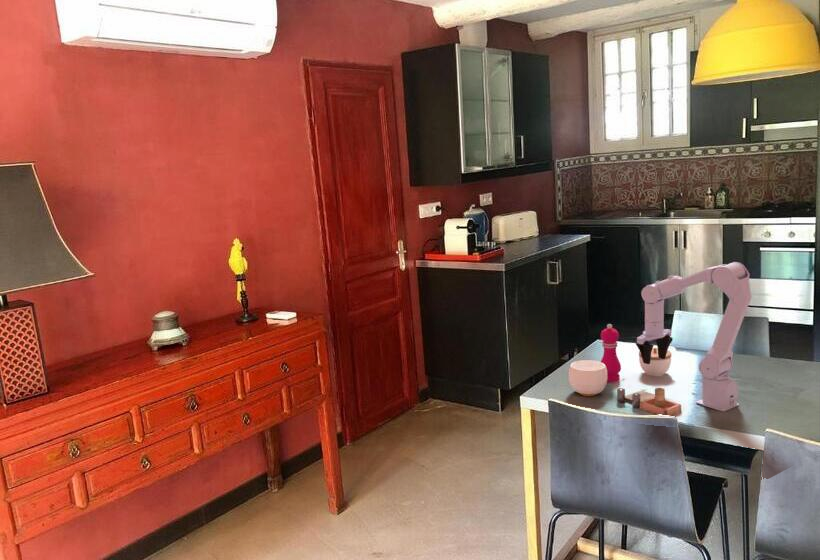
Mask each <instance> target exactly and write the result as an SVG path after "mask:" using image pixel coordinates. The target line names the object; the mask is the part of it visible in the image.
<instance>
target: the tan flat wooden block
mask: <svg viewBox="0 0 820 560" xmlns="http://www.w3.org/2000/svg"><path fill="white" fill-rule="evenodd" d="M633 393H639V394H640V395H641V402H642V401H645V400H647V399H650V398H653V397H655V393H651V392H648V391H645V390H643V389H640V390H638V391H636V392H632V393H630V394H626V395H625V402H626V401H627V402H626V403H629V402H630V403H629V404H632V394H633Z"/></svg>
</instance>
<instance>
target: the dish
mask: <svg viewBox="0 0 820 560" xmlns="http://www.w3.org/2000/svg"><path fill="white" fill-rule="evenodd" d="M639 410H642V411H645V412H647V411H648V412H647V413H650V414H654V415H656V414H662V415H671V416H674V415H676V414H679V413H681V412H682V404H680V403H677V402H674V401H670V400H668V399H665V409H663V408H660V407H657V406H655V397H653V398H650V399H647V400H645V401H642V402H640V408H639Z"/></svg>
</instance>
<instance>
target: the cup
mask: <svg viewBox="0 0 820 560" xmlns="http://www.w3.org/2000/svg"><path fill="white" fill-rule="evenodd" d="M568 381H569V383H570V385H571V388H573V390H574V391H575V392H576V393H579V394H580V395H581V396H584V397H594V396H596V395H598V394H599V393H601V392H603V391H604V389H605V387H606V386H607V385H606V384H607V383H608V382H607V369H606V366H605V364H604V363H602V362H601V361H598V360H594V359H593V360H592V359H591V360H589V359H586V360H585V359H582V360H576V361H573V362H571V364H570V365H569V369H568Z"/></svg>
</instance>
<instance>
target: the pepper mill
mask: <svg viewBox="0 0 820 560" xmlns="http://www.w3.org/2000/svg"><path fill="white" fill-rule="evenodd" d="M600 332H601V333H600V340H601V341H602V342H601V343H602V347H603V354H602V355H603V356H602V358H601V360H600V362H602V363H604V364H605V366H606V369H607V382H606V383H609V384H610V383H611V384H612V383H618V382H619V381H620V380H621V379H620V378H621V377H620V374H619V373H620V372H621V370H622V366H621V361H620V360H619V357H618V356H617V347H618V342H617V341H618V340H619V336H620V335H619V331H618V330H617V329H616V328H613V324H611V323H608V324H607V325H606V328H604V329H603V330H601V331H600Z"/></svg>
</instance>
